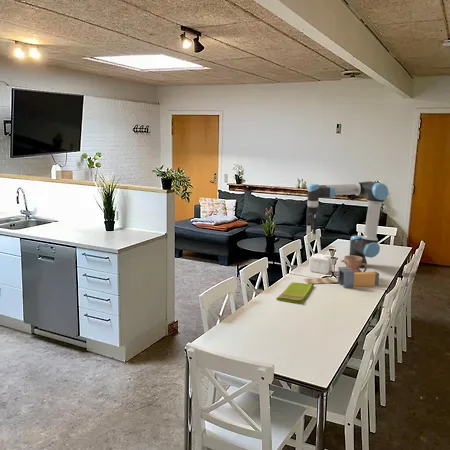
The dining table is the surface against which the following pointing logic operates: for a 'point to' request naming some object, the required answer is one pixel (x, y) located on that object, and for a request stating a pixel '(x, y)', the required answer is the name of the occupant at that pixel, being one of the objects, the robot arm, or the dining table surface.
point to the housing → (346, 277)
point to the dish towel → (296, 293)
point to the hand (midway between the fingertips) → (311, 236)
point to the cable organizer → (320, 263)
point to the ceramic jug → (354, 263)
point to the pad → (320, 281)
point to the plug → (366, 278)
